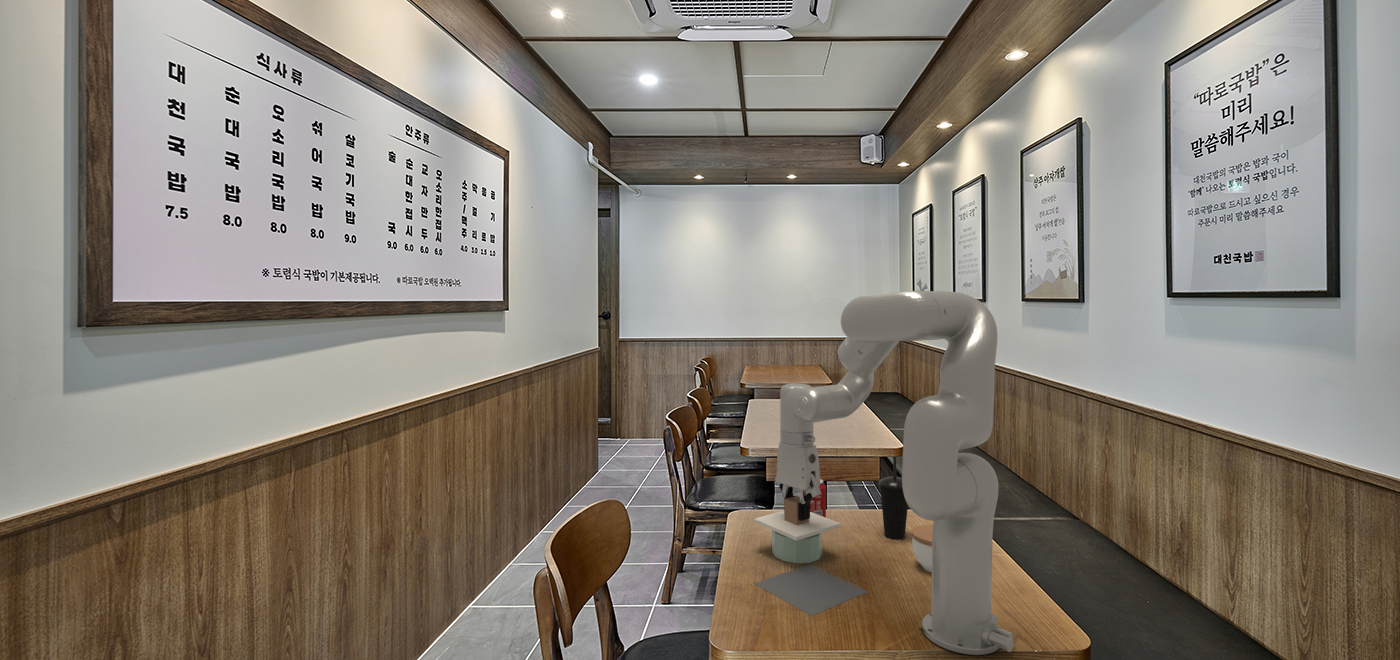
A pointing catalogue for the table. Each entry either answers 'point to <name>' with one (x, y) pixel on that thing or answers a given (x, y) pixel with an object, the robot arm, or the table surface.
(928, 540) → the lidded jar
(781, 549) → the bowl
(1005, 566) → the table surface
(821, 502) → the beverage can
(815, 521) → the lid
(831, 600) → the mat
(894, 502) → the drinking cup
